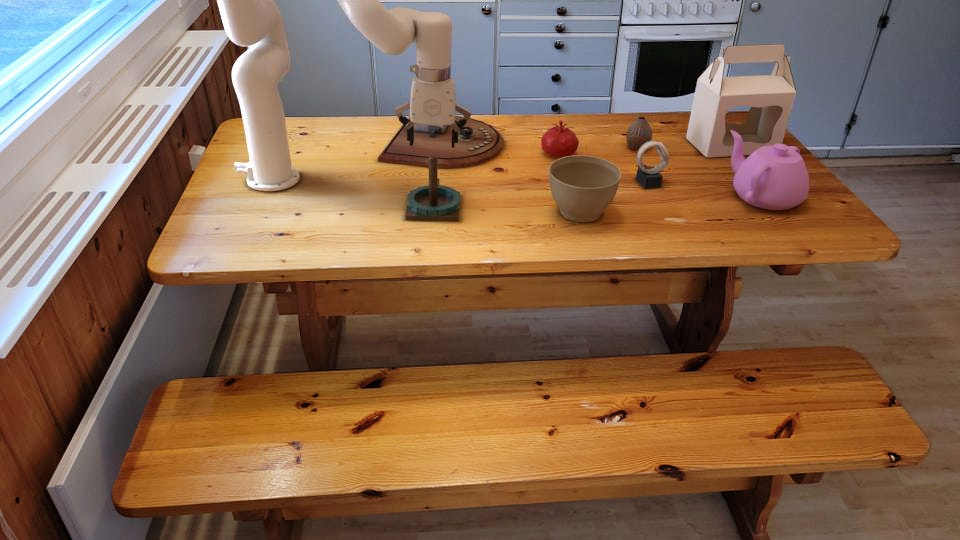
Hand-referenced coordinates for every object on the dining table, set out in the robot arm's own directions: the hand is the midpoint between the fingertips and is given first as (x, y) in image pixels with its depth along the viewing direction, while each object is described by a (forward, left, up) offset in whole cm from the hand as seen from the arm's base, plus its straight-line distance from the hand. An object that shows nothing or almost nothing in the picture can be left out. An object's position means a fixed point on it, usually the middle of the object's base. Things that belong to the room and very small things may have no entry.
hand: (432, 144), depth 165 cm
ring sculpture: (+54, +7, -12) cm, 55 cm away
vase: (+55, +28, -12) cm, 62 cm away
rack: (+1, -8, -12) cm, 15 cm away
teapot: (+80, +2, -12) cm, 81 cm away
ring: (+1, -7, -11) cm, 13 cm away
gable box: (+82, +31, -12) cm, 88 cm away
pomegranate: (+33, +23, -12) cm, 42 cm away
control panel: (+3, +28, -12) cm, 30 cm away
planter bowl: (+35, -9, -12) cm, 38 cm away
